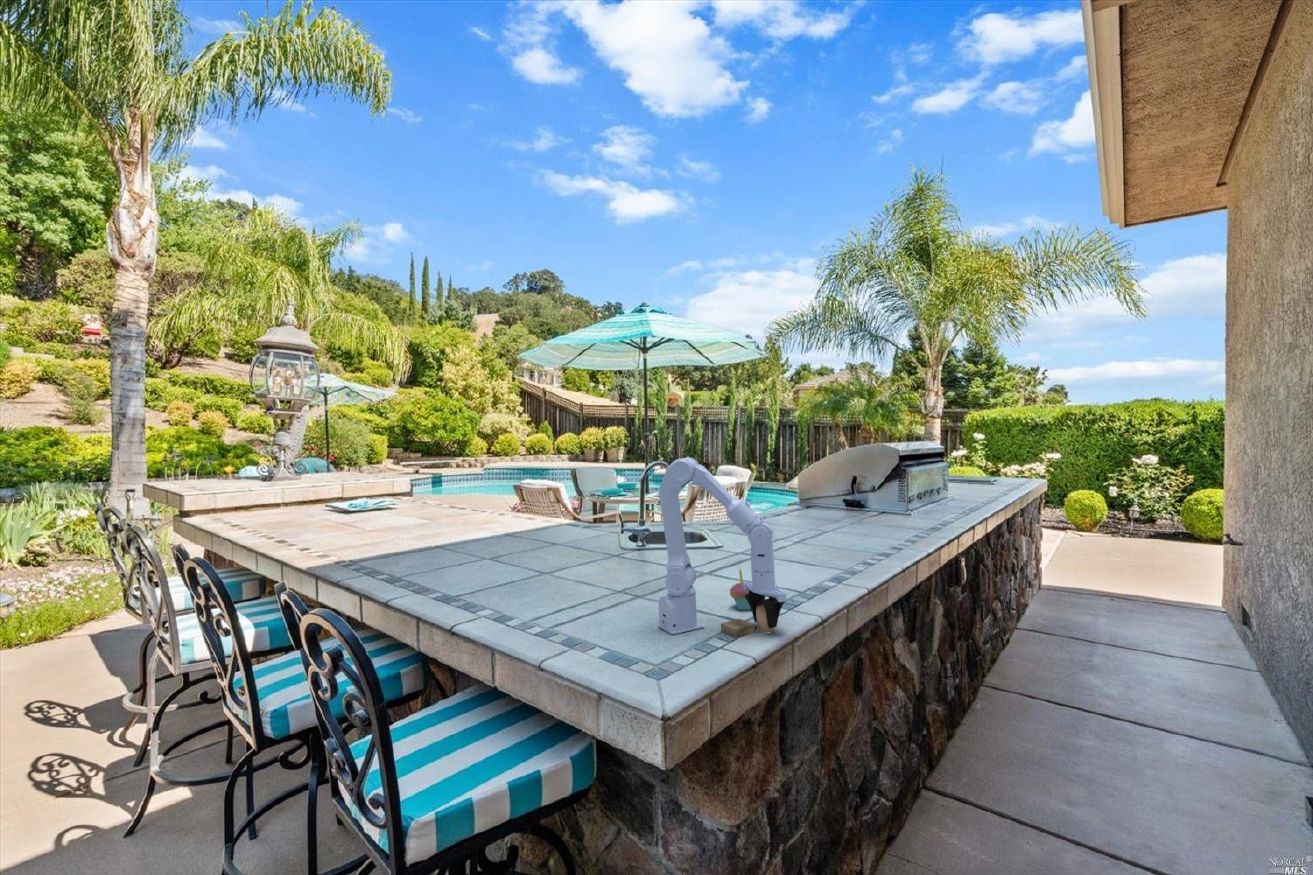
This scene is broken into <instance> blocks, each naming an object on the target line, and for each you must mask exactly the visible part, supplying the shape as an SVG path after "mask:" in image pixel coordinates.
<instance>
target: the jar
mask: <svg viewBox="0 0 1313 875" xmlns="http://www.w3.org/2000/svg"><path fill="white" fill-rule="evenodd" d="M756 619H757V623H756V630H757V632H759V633H761V632H771V633H774V632H775V631H776V629H775V628H776V627H774V628H769V627H768V623H767V615H766V611H765V608H764V605H763V604H759V605H757V608H756ZM773 631H774V632H773Z"/></svg>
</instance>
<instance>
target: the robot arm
mask: <svg viewBox="0 0 1313 875" xmlns="http://www.w3.org/2000/svg"><path fill="white" fill-rule="evenodd" d="M689 483H690V485H692V486H698V487H702V488H704V490H705V491H706V492H708V493H709V494H710V495H711V496H712V497H713V498H715V499H716V500H717V501H718V502H719V503H720V505H722V506H723V507H724V508H725V511H726V512H725V513H726V517H728V519H729V520H730V521H731V522H732V523H733V524H734V525H735V526H736V527H737V528H738V529H739V530H740V531H741V532H742V533H743V534H746V535H747V539H748V541H749V543H750V550H751V551H750V568H751V570H750V571H751V572H750V573H751V581H746V582H745V583H743V587H744V590H745V591H749V594H745V598H746V600H747V601H748V603H749V605H750V608H751V610H750V611H751V613H752V617H753V621H754V622H755V623H756V624H757V619H756V608H757V605H759V604H763V605H764V608H765V611H766V615H767V623H768V627H769V628H774V627H775V628H777V627H778V621H779V618H780V617H779V616H780V613H781V610H782V608H783V606H784V604H785V602H787V593H786V592H784V591H782V590H781V589H779V585H777V584H776V576H775V556H774V550H773V549H774V545H773V537H774V536H773V535H774V530H773V527H772V526H771V524H770V522H769V521H767V520H764V519H765V518H764V517H763V516H762V515H761V516H759V515H758V514H757V512H755V511H754V510H753V509H752V508H751V503H750V502H749V501H747V500H746V502H745V501H744V500H743V499H737V498H736V499H735V498H734V497H733V496H732V494H730V492H729V491H728V490H727V489H726V488H725V487H724V485H722V484H721V483H720V482H719V481H718V479H716V477H714V475H713V474H712V473H711V472H710V471H709V470H708V469H707V468H706V467H705V466H703V465H702V464H699V462H698V461H697V460H696V459H695V458H694V457H688V456H686V457H684V458H683V457H682V458H677V459H675V460H674V461H672V462H671V463H670V464H669V465H668V466H667V468H666V469H665V474H664V476H663V478H662V481H661V483H660V486H659V488H658V497H659V498H658V499H659V504H660V510H661V511H660V512H661V518H662V524H663V531H664V537H665V544H666V551H667V565H666V573H667V574H666V577H665V587H666V590H667V593H666V594H665V595H663V596H660V598H659V599H658V622H659V624H658V625H657V626H658V628H660V629H662V630H664V631H665V632H667V633H669V634H671V635H677V634H681V633H682V634H683V633H685V632H690V631H693V630H698V629H699V630H700V629H702V628H704V627H705V626H704V624H702V623H699V621H698V616H697V615H698V613H697V597H696V596H697V595H696V589H695V588H694V585H693V584H695V581H696V578H697V573H696V570H695V568H694V567H693V565H692V563H691V558H690V556H689V554H688V551H687V545H686V538H685V532H684V524H683V518H682V512H681V511H682V510H681V505H680V498H679V497H680V496H679V495H680V493H681V492H682V491H683V489H684V488H685V487H686V485H688V484H689ZM766 597H767V598H766Z"/></svg>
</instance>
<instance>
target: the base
mask: <svg viewBox="0 0 1313 875" xmlns="http://www.w3.org/2000/svg"><path fill="white" fill-rule="evenodd" d="M720 632H722V633H724V634H726V635H729V636H731V637H733V638H734V639H735V638H740V637H743V636H748V635H752V634H754V633H756V630H755V623H754V624H753V623H751V622H749V621H747V620H744V619H741V618H737V619H734V620H733V619H732V620H729V621H724V622H720Z"/></svg>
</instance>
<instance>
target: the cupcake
mask: <svg viewBox="0 0 1313 875" xmlns="http://www.w3.org/2000/svg"><path fill="white" fill-rule="evenodd" d="M738 568H739V570H738V573H739V582H738V583H735V584H734V585H732V586H731V588H730V589H729V595H730V597H731V598H733V600H734V602H735V605H736V607H737V609H738V610H741V611H751V608H750V605H749V603H748V601H747V600H746V598H745V594H749V591H745V590H744V587H743V583H745V582H744V579H743V572H742V569H741V567H738Z"/></svg>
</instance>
